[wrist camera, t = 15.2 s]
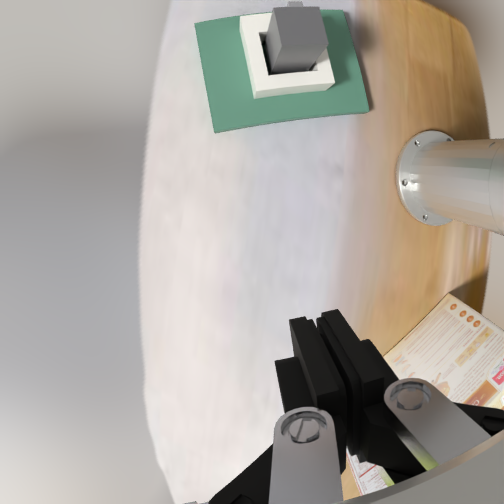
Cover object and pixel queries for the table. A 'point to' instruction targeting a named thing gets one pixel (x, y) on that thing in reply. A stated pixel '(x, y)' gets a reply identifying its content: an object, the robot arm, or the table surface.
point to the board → (237, 75)
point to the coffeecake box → (454, 354)
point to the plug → (294, 39)
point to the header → (280, 84)
